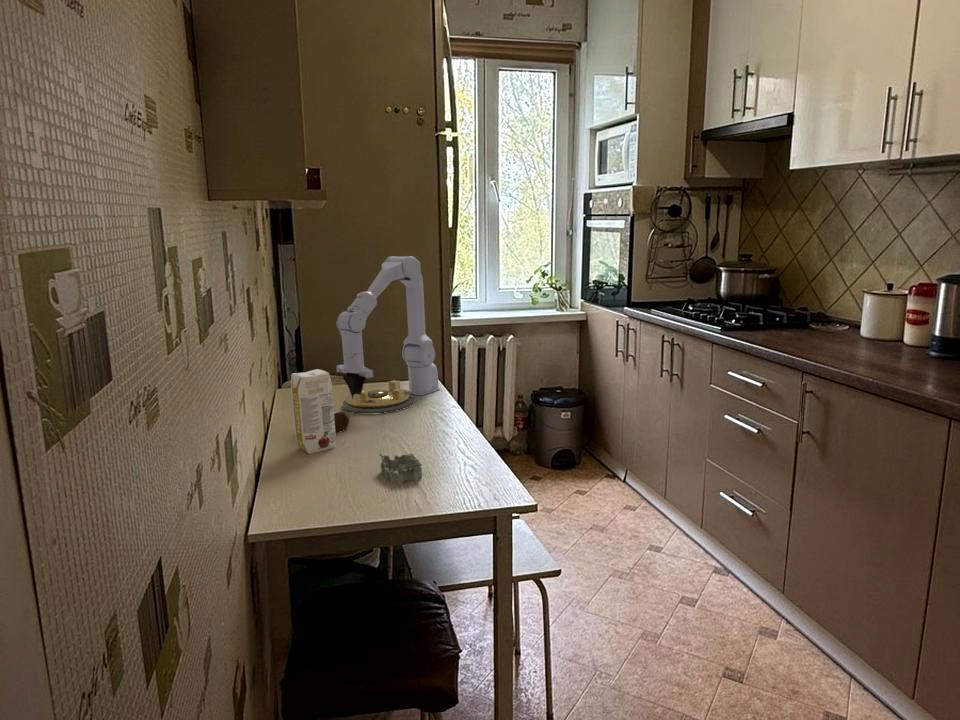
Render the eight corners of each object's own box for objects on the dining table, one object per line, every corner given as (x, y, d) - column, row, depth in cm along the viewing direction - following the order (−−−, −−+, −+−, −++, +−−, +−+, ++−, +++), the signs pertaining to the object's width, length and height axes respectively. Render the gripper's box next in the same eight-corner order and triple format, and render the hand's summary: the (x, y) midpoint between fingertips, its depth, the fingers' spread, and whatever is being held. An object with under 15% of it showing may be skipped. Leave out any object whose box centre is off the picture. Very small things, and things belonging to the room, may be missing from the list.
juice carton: (339, 447, 163) (333, 372, 159) (307, 456, 158) (300, 378, 154) (325, 440, 169) (319, 367, 165) (293, 448, 164) (286, 373, 160)
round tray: (345, 395, 208) (344, 382, 208) (405, 389, 213) (405, 377, 212) (347, 410, 190) (346, 397, 190) (413, 404, 194) (412, 391, 194)
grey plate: (378, 392, 216) (378, 388, 216) (427, 400, 204) (427, 396, 203) (328, 408, 200) (328, 403, 199) (378, 418, 187) (377, 413, 187)
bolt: (315, 427, 188) (344, 436, 177) (300, 422, 184) (329, 430, 174) (322, 407, 189) (351, 415, 178) (307, 402, 185) (337, 409, 175)
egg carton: (378, 470, 148) (377, 453, 147) (411, 465, 151) (410, 447, 150) (390, 487, 138) (389, 468, 137) (425, 480, 141) (424, 462, 140)
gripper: (326, 352, 194) (330, 397, 197) (357, 358, 185) (361, 405, 188) (346, 348, 200) (349, 392, 202) (377, 353, 190) (380, 399, 193)
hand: (356, 398), depth 195 cm, fingers closed, pressing on round tray
